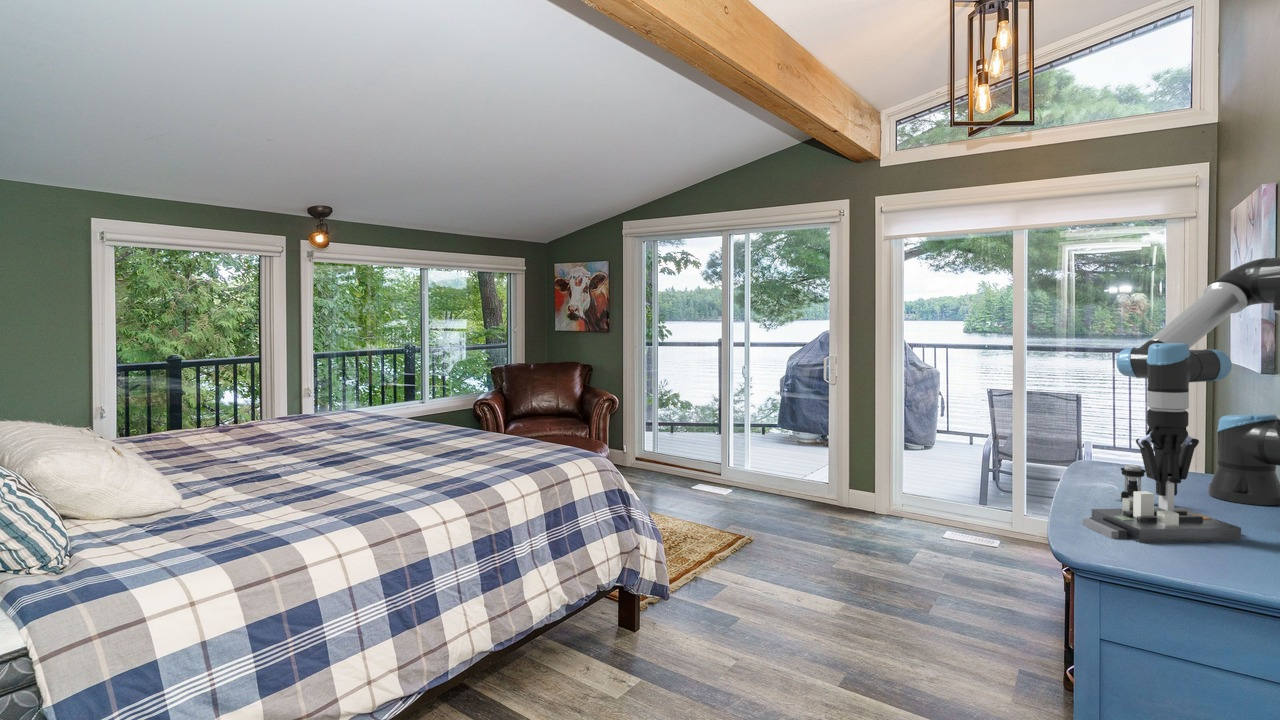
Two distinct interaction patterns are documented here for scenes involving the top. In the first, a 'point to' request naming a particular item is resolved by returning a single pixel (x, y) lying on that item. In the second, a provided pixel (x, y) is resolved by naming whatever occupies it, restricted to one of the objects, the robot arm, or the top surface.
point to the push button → (1131, 480)
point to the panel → (1172, 532)
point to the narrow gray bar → (1105, 528)
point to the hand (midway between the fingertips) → (1166, 509)
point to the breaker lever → (1143, 503)
